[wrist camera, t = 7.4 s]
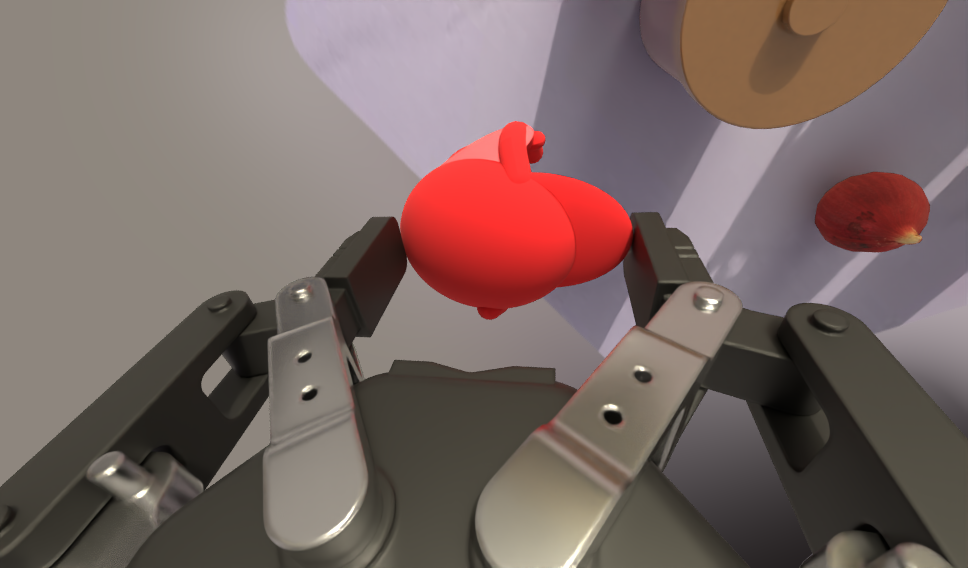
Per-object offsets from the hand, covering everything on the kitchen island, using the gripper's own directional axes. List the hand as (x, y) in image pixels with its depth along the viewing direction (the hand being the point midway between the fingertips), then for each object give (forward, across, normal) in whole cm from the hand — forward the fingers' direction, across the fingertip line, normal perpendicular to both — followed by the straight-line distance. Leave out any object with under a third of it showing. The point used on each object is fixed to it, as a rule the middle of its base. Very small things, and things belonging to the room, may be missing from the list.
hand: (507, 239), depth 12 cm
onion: (+22, -25, +9) cm, 35 cm away
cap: (+4, 0, 0) cm, 4 cm away
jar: (+22, -12, -5) cm, 26 cm away
